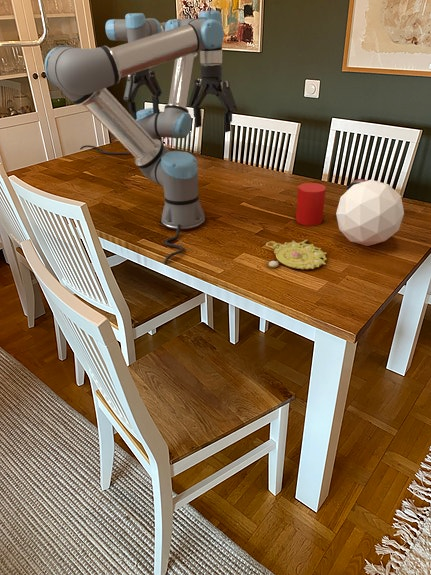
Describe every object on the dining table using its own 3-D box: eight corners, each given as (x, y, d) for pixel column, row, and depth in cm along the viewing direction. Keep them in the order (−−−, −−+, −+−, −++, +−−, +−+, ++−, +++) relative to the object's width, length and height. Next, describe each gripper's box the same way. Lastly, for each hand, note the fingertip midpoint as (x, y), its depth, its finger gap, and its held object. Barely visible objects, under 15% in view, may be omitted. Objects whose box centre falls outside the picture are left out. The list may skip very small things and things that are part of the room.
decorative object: (309, 275, 120) (249, 251, 130) (307, 282, 121) (248, 258, 131) (343, 246, 133) (286, 226, 143) (341, 253, 134) (285, 233, 145)
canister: (306, 212, 160) (309, 180, 154) (327, 220, 154) (331, 187, 148) (290, 220, 155) (292, 187, 149) (311, 228, 149) (314, 194, 143)
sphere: (372, 267, 139) (394, 238, 121) (318, 234, 144) (331, 202, 125) (402, 223, 144) (427, 189, 125) (348, 192, 149) (365, 155, 130)
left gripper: (123, 62, 164) (130, 122, 175) (167, 56, 181) (171, 111, 192) (109, 62, 168) (117, 120, 179) (153, 55, 185) (158, 109, 196)
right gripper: (247, 65, 146) (246, 131, 157) (191, 61, 159) (193, 123, 170) (234, 67, 141) (233, 135, 152) (176, 63, 154) (180, 126, 166)
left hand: (145, 115), depth 186 cm, fingers open, 13 cm apart
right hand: (212, 129), depth 161 cm, fingers open, 13 cm apart
